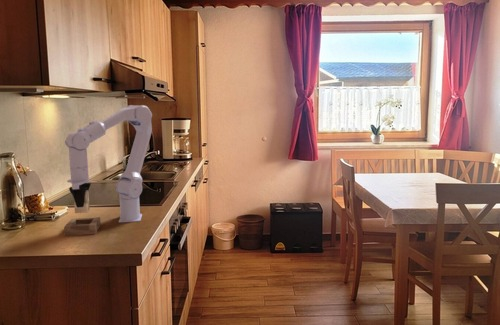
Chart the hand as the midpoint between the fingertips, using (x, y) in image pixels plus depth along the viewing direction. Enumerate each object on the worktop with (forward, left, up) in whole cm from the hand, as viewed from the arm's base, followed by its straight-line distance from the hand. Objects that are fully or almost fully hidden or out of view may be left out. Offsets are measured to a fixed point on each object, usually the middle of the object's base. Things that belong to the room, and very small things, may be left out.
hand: (81, 205), depth 144 cm
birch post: (0, 0, -2) cm, 2 cm away
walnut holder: (0, 0, -9) cm, 9 cm away
